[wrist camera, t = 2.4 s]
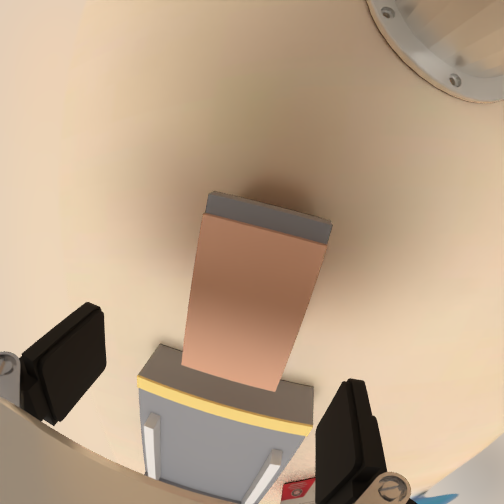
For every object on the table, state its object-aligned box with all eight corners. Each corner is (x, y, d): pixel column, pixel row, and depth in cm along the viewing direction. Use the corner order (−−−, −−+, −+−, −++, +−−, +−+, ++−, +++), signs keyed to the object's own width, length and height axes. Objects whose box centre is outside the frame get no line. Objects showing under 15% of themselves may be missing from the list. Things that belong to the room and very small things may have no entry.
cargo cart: (239, 179, 18) (206, 194, 12) (322, 200, 17) (333, 227, 11) (214, 306, 21) (181, 364, 15) (284, 325, 20) (275, 392, 14)
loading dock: (160, 343, 23) (112, 412, 15) (313, 387, 22) (310, 471, 14) (158, 451, 29) (133, 501, 22) (260, 481, 28) (248, 535, 21)
